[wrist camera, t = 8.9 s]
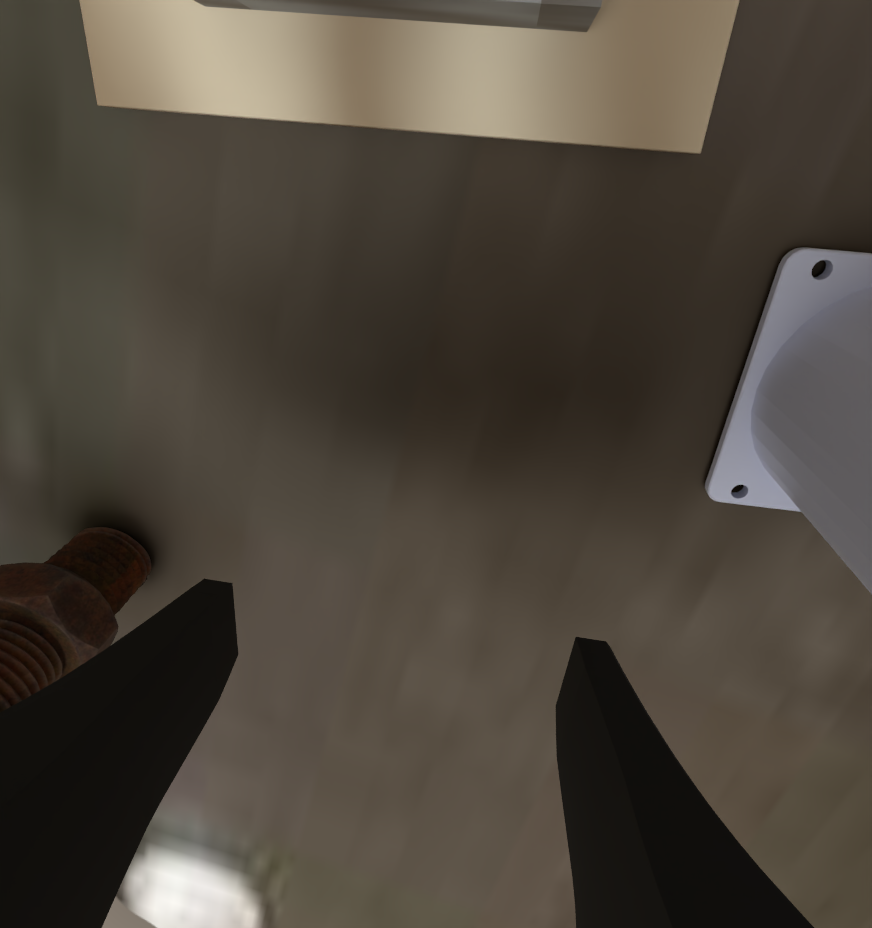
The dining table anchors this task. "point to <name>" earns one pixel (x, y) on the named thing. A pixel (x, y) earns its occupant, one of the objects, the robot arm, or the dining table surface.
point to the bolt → (64, 608)
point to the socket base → (424, 65)
